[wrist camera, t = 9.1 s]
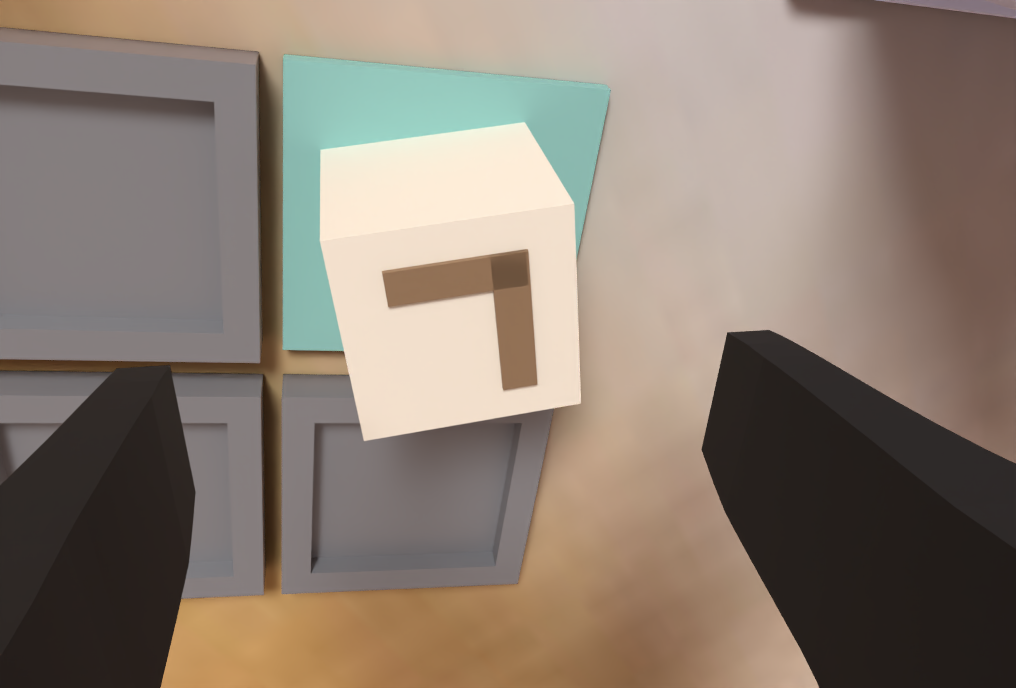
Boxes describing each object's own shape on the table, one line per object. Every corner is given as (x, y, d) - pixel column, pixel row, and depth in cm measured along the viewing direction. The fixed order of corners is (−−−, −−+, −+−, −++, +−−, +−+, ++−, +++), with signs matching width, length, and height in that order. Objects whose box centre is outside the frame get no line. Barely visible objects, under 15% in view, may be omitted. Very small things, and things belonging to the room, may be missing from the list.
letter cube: (524, 122, 19) (575, 205, 15) (535, 296, 21) (582, 406, 18) (320, 149, 18) (319, 243, 15) (356, 325, 21) (364, 444, 17)
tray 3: (547, 377, 23) (555, 399, 22) (511, 559, 27) (517, 583, 26) (283, 373, 22) (281, 396, 21) (282, 567, 25) (281, 593, 24)
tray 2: (262, 373, 22) (260, 397, 21) (265, 568, 25) (263, 595, 24) (-47, 369, 20) (-62, 395, 19) (4, 578, 24) (-8, 606, 23)
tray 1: (258, 52, 17) (255, 65, 17) (262, 340, 21) (260, 363, 20) (-133, 14, 16) (-157, 26, 15) (-55, 333, 19) (-72, 358, 19)
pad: (605, 85, 19) (610, 89, 19) (553, 346, 23) (557, 354, 22) (283, 54, 18) (283, 59, 17) (283, 341, 21) (282, 349, 21)
